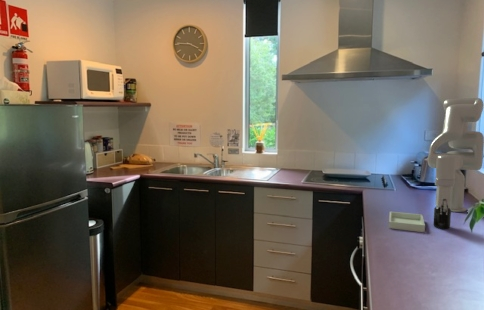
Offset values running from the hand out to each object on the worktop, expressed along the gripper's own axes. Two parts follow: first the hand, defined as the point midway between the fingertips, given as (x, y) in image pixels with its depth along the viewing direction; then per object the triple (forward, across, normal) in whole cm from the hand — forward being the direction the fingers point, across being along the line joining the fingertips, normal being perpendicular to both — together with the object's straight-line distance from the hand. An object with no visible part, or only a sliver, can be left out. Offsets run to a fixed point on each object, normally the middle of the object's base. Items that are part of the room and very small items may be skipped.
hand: (441, 220), depth 167 cm
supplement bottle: (+3, 0, 0) cm, 3 cm away
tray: (+3, +2, -15) cm, 15 cm away
